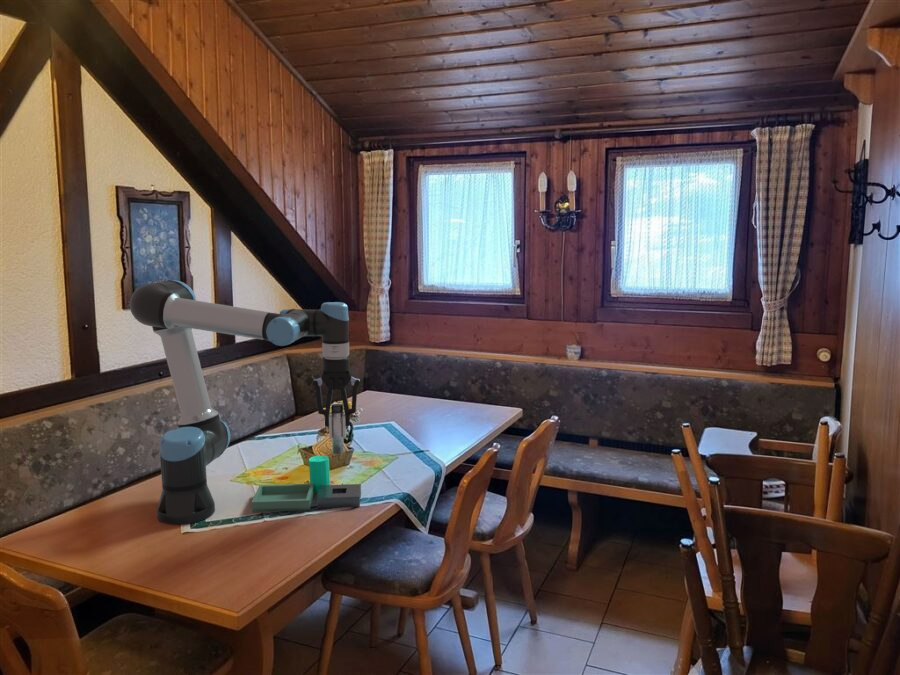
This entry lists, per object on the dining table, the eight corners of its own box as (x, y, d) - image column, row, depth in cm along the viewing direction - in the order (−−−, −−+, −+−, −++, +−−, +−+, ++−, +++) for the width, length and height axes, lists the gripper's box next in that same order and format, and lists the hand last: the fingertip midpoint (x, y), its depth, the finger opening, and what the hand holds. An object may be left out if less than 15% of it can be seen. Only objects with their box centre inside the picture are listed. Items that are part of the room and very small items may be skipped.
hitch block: (317, 508, 205) (317, 498, 205) (320, 494, 215) (320, 485, 215) (359, 506, 206) (359, 496, 206) (360, 493, 216) (360, 484, 216)
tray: (251, 512, 202) (251, 502, 202) (260, 494, 215) (259, 485, 214) (309, 510, 204) (309, 500, 203) (314, 493, 216) (313, 483, 216)
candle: (326, 495, 215) (324, 457, 213) (307, 494, 216) (305, 456, 214) (333, 488, 221) (331, 450, 219) (314, 487, 222) (312, 450, 220)
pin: (332, 454, 207) (331, 406, 204) (332, 450, 210) (331, 403, 207) (343, 453, 207) (342, 406, 205) (344, 450, 210) (343, 403, 208)
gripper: (305, 360, 199) (307, 441, 203) (364, 359, 201) (365, 440, 205) (308, 355, 207) (310, 433, 210) (365, 354, 208) (366, 432, 212)
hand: (337, 436), depth 207 cm, fingers closed on pin, 3 cm apart
